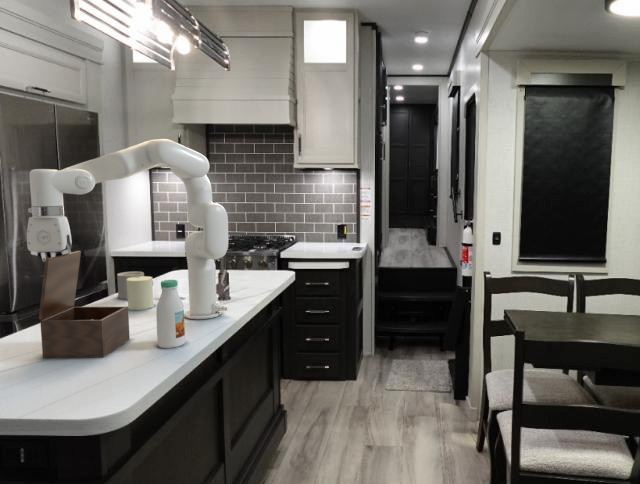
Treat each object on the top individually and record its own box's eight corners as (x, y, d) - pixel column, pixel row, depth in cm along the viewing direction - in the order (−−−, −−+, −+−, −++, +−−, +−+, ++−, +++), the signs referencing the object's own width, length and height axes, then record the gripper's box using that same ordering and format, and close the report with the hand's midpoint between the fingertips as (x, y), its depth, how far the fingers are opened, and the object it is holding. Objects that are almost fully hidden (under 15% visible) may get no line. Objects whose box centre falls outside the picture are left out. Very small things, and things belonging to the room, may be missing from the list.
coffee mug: (115, 299, 206) (113, 276, 204) (122, 294, 215) (121, 271, 214) (149, 298, 209) (148, 275, 208) (155, 293, 218) (154, 271, 217)
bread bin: (129, 339, 156) (128, 306, 155) (103, 357, 140) (101, 320, 139) (75, 340, 155) (73, 306, 154) (42, 358, 139) (40, 320, 138)
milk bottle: (167, 350, 147) (164, 284, 145) (152, 345, 151) (149, 281, 149) (190, 343, 153) (188, 280, 151) (175, 338, 157) (173, 277, 155)
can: (149, 303, 201) (148, 274, 200) (157, 307, 195) (156, 277, 193) (124, 306, 195) (123, 277, 193) (131, 311, 188) (130, 280, 187)
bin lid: (81, 251, 152) (78, 250, 152) (48, 259, 136) (45, 258, 136) (74, 305, 154) (71, 305, 153) (41, 319, 138) (38, 319, 138)
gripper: (11, 212, 138) (17, 277, 140) (67, 213, 139) (71, 277, 141) (30, 211, 146) (34, 272, 148) (82, 211, 147) (86, 272, 149)
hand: (52, 274), depth 145 cm, fingers closed
